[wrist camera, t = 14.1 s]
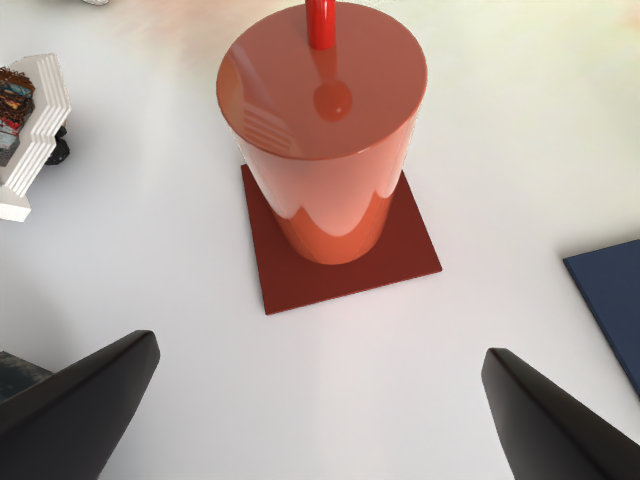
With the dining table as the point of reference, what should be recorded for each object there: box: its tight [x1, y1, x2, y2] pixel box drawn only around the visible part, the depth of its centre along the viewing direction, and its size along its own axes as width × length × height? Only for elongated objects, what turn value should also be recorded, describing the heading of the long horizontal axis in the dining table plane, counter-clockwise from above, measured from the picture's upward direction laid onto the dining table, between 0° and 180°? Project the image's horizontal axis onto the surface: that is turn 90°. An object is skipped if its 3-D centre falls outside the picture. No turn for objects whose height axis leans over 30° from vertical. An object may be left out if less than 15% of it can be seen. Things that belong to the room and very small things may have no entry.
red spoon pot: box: [216, 0, 427, 265], centre depth 11 cm, size 9×6×17 cm
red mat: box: [241, 164, 442, 315], centre depth 19 cm, size 10×10×1 cm
